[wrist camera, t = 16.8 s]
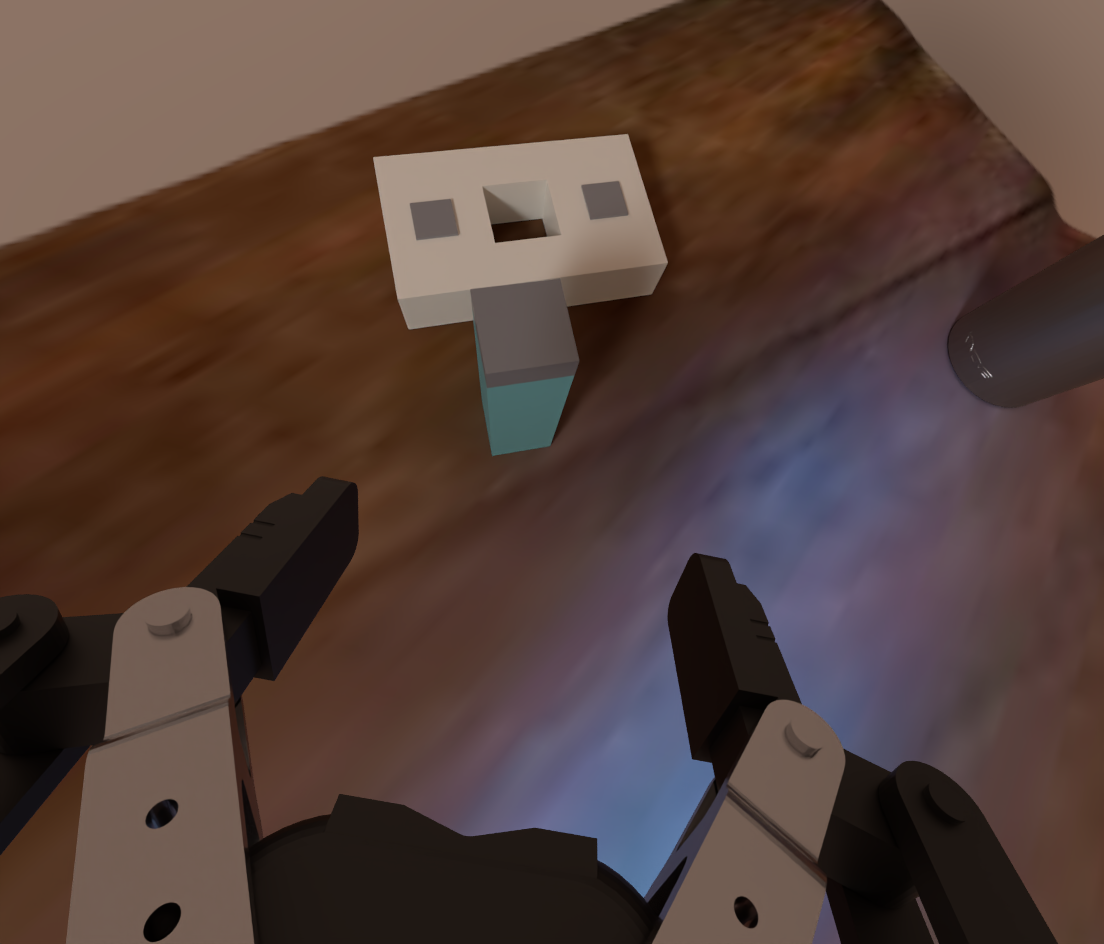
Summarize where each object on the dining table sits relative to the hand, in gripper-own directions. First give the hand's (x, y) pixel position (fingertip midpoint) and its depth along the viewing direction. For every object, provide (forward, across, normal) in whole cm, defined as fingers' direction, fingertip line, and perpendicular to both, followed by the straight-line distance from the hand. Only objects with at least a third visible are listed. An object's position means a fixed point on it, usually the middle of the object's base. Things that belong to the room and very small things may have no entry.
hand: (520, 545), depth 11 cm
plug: (+24, +2, +9) cm, 25 cm away
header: (+34, +5, -2) cm, 35 cm away
